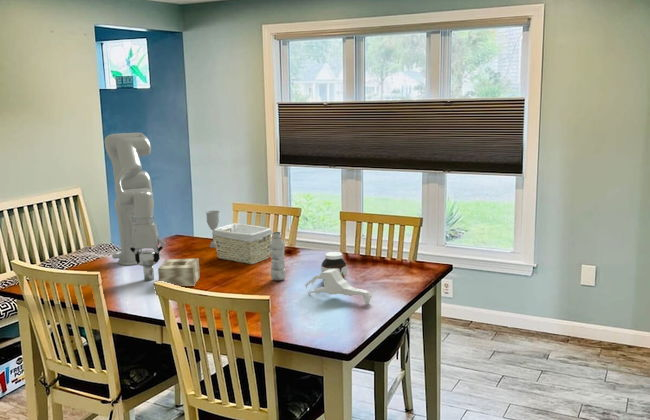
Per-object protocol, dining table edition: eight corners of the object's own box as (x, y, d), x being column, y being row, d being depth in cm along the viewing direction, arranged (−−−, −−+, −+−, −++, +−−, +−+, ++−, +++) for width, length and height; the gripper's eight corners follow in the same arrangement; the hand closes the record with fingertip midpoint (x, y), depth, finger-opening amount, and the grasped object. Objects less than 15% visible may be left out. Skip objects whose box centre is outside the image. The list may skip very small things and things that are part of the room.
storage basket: (274, 257, 289) (273, 227, 287) (252, 266, 276) (250, 234, 273) (236, 251, 303) (234, 222, 300) (213, 259, 289) (211, 228, 287)
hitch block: (159, 287, 248) (158, 268, 246) (166, 277, 261) (165, 259, 260) (194, 286, 248) (193, 267, 247) (199, 276, 262) (198, 258, 260)
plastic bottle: (289, 278, 256) (287, 231, 253) (282, 282, 250) (280, 235, 246) (274, 277, 258) (272, 230, 255) (268, 281, 252) (266, 234, 248)
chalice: (224, 245, 315) (222, 211, 312) (216, 248, 309) (214, 213, 306) (212, 244, 318) (210, 210, 315) (204, 247, 312) (202, 212, 309)
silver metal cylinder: (138, 282, 256) (136, 254, 253) (142, 277, 263) (140, 250, 260) (155, 281, 256) (153, 254, 254) (159, 277, 263) (157, 249, 261)
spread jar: (327, 286, 244) (327, 258, 242) (315, 279, 254) (314, 251, 252) (353, 281, 250) (353, 253, 248) (340, 274, 260) (339, 247, 258)
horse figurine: (317, 319, 233) (370, 305, 219) (302, 278, 234) (354, 262, 220) (324, 315, 237) (376, 301, 223) (309, 275, 238) (361, 259, 224)
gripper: (120, 223, 250) (124, 265, 254) (163, 222, 251) (166, 263, 254) (125, 219, 258) (129, 260, 261) (167, 218, 258) (170, 259, 262)
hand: (147, 261), depth 258 cm, fingers closed on silver metal cylinder, 7 cm apart
